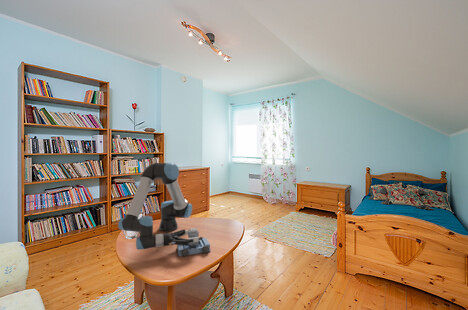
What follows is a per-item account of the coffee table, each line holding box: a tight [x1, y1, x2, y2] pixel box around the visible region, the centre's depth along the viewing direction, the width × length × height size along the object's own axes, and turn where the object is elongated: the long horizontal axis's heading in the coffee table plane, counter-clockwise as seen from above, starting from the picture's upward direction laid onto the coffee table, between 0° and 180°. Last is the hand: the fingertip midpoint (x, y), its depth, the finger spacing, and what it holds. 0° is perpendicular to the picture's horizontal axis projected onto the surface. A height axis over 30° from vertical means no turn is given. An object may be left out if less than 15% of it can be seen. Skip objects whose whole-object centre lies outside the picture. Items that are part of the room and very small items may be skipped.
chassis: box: [176, 236, 211, 258], centre depth 140 cm, size 16×20×4 cm
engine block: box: [187, 227, 200, 249], centre depth 140 cm, size 6×6×12 cm
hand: (196, 235), depth 141 cm, fingers open, 13 cm apart
